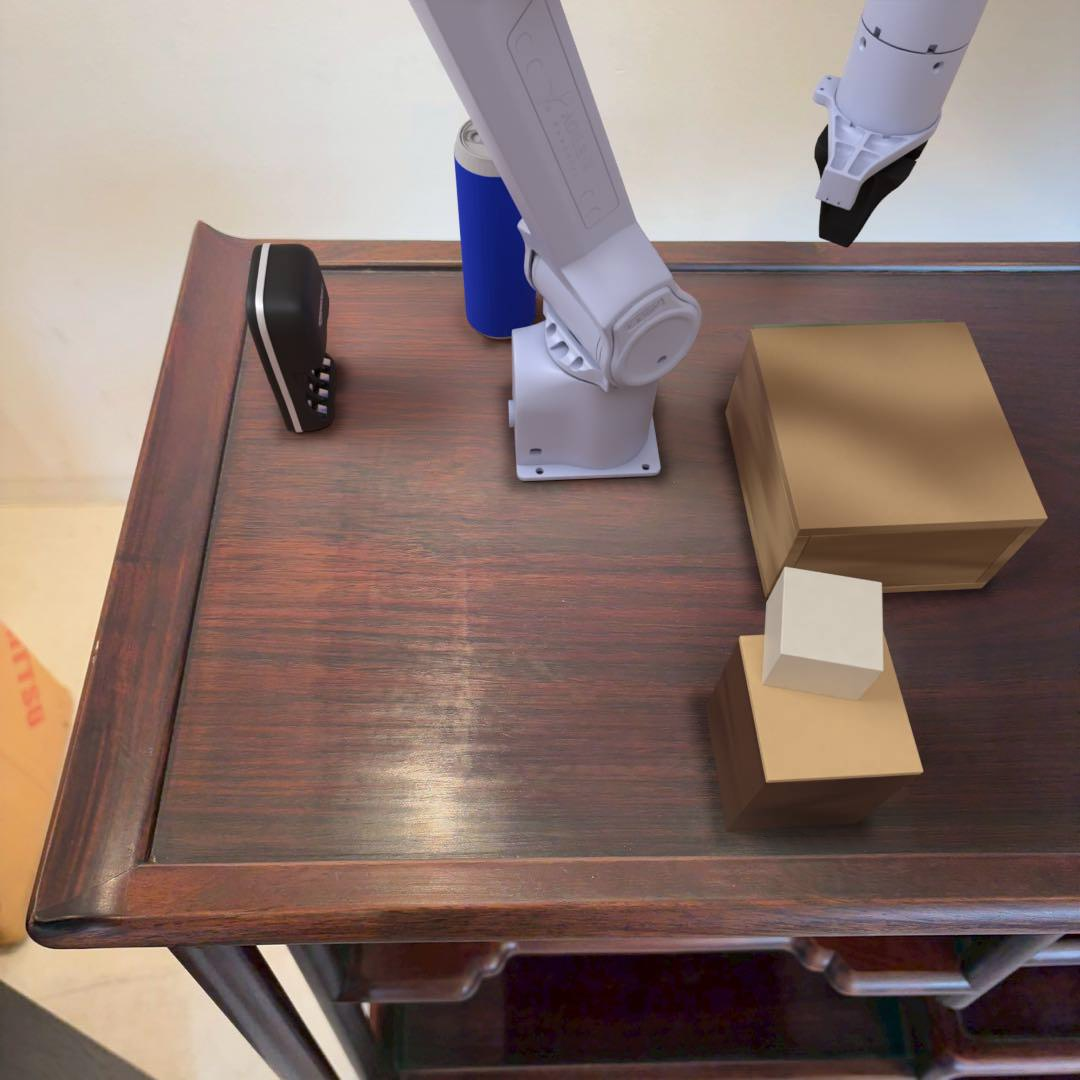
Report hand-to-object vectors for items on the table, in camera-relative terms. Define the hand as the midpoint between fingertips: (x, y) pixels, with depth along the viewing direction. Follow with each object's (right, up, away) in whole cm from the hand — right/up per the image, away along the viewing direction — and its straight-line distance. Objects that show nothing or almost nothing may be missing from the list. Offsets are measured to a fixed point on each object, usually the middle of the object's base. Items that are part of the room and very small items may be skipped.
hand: (836, 236), depth 58 cm
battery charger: (-35, -10, +4) cm, 36 cm away
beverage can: (-22, -3, +9) cm, 24 cm away
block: (-6, -25, -15) cm, 30 cm away
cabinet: (+1, -17, +1) cm, 17 cm away
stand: (-6, -32, -9) cm, 34 cm away
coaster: (-6, -27, -16) cm, 32 cm away
